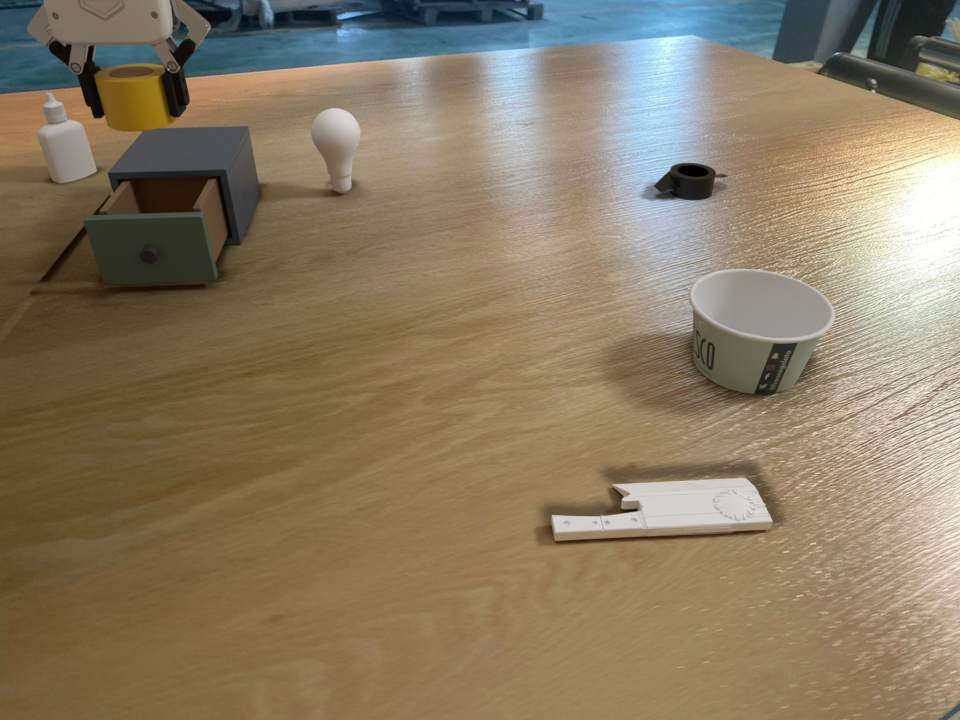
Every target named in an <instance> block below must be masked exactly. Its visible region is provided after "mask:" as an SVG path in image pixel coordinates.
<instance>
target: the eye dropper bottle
mask: <svg viewBox="0 0 960 720" xmlns="http://www.w3.org/2000/svg"><path fill="white" fill-rule="evenodd" d="M45 99H46V101H45V103H43V104H42V105H41V107H42V112H43V114H44V117H45V120H46V122H47V123H46V124H43V126H42V127H41V128H40V129H39V130H38V131H37V138H38V142H39V145H40V148H41V151H42V154H43V157H44V160H45V163H46V166H47V169H48V173H49V175H50V178H51V181H52V182H55V183H57V184H67V183H70V182H75V181H77V180H81V179H84V178H86V177H89V176H91V175H93V174H96V172H97V171H98V169H97V165H96V163H95V159H94V156H93V152H92V150H91V146H90V142H89V140H88V136H87V132H86V131H85V127H84V125H83V124H82V123H81V122H79V121H77V120H74V119H68V115H67V112H66V109H65V105H64V103H63V102H61V101H59V100H56V98H55V96H54V94H53V92H46V93H45Z"/></svg>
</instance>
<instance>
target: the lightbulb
mask: <svg viewBox="0 0 960 720" xmlns="http://www.w3.org/2000/svg"><path fill="white" fill-rule="evenodd" d="M310 131H311V132H310V135H311V139H312V142H313V145H314V147H315V148H316V150H317V151H318V153H319V154H320V155H321V156H322V159H323V160H324V162H325V165H326V170H327V174H328V176H329V177H330V183H331V188H332V190H333V191H334V192H337V193H338V194H341V195H343V194H346V193H347V192H348V191H350V190H351V188H352V173H353V161H354V157H355V153H356V151H357V149H358V147H359V144H360V141H361V136H362V135H361V128H360V125H359V123H358V121H357V119H356V117H355V116H353V115H352V114H351V113H350V112H349V111H347V110H345V109H343V108H338V107H337V108H336V107H331V108H327V109H325V110H323V111H321V112H320V113H318V115H316V117H315V118H314V119H313V122H312V125H311V129H310Z"/></svg>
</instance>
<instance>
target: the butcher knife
mask: <svg viewBox="0 0 960 720" xmlns="http://www.w3.org/2000/svg"><path fill="white" fill-rule="evenodd" d="M611 487H613V488H614V489H615V490H616V491H617V492H618V493H619V494H620V495H622V498H621V504H620V509H621V510H637V511H631V512H625V513H618V514H608V515H603V514H600V515H598V516H597V515H596V516H594V515H593V516H592V515H589V516H587V515H558V514H551V518H550V524H551V529H552V533H553V539H554V542H560V541H562V542H563V541H578V540H579V541H580V540H597V539H615V538H616V539H617V538H635V537H662V536H663V537H666V536H674V535H680V536H686V535H687V536H689V535H690V536H691V535H692V536H693V534H705V535H712V534H713V535H715V534H717V533H726V534H731V533H733V532H745V531H765V530H771V528H772V525H773V519H772V517H771V514H770V511H768V509H767V503H765V502H764V501H763V498H762V497H761V495H760V493H759V490H758V489H757V488H756V485H754V484H753V483H751V481H750V480H749V479H747V478H746V477H732V478H714V479H713V478H711V479H693V480H691V479H690V480H673V481H652V482H651V481H650V482H633V483H632V482H631V483H612V484H611Z"/></svg>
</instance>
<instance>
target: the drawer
mask: <svg viewBox="0 0 960 720" xmlns="http://www.w3.org/2000/svg"><path fill="white" fill-rule="evenodd" d="M98 212H99V214H87V215H85V217H84V218H83V219H82V223H83V225H84V229H85V231H86V235H87V237H88V238H87V239H88V241H89V244H90V247H91V250H92V253H93V256H94V260H95V262H96V265H97V268H98V272H99V275H100V277H101V281H102V284H103V285H104V286H116V285H117V286H118V285H120V286H121V285H142V284H167V283H168V284H169V283H172V284H173V283H196V282H199V283H201V282H216V281H217V280H218V278H219V273H218V269H217V263H216V262H217V261H218V259H219V256H220V253H221V251H222V249H223V246H224V245H223V244H224V242H225V240H226V237H227V235H228V233H229V231H230V223H229V218H228V213H227V208H226V203H225V198H224V194H223V189H222V184H221V179H220V176H207V177H172V178H137V179H124V181H123V182H122V183H121V184H120V186H119V187H118V188H117V189H116V191H115V192H114V193H113V192H112V194H111V196H110V197H109V198H108V200H107V201H106V202H105V204H104V205H103V206H102V207H101V208H100V209H99V211H98Z"/></svg>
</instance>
